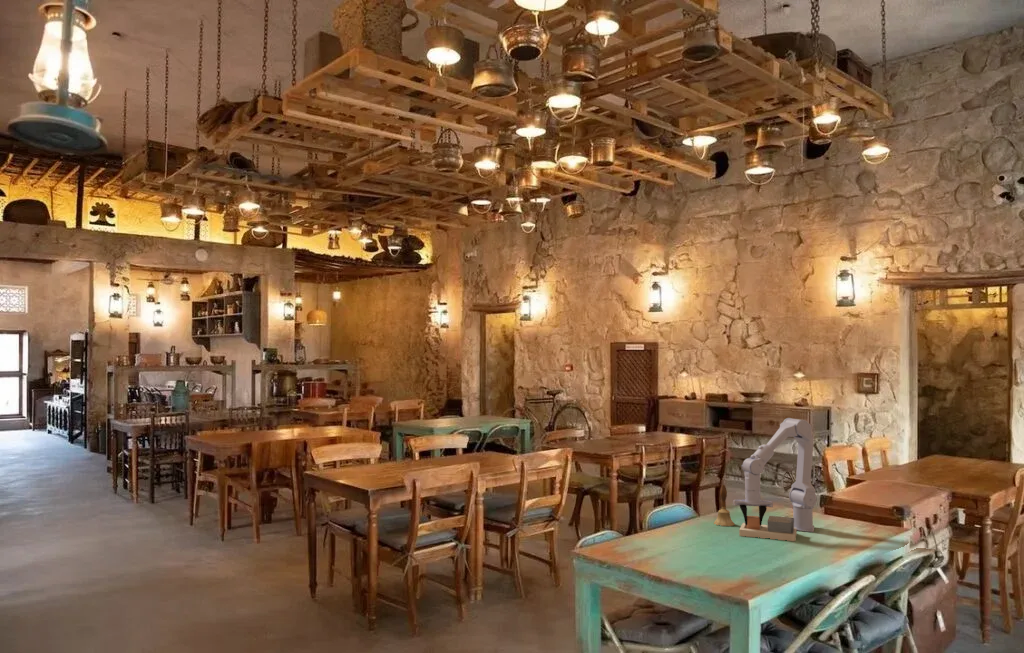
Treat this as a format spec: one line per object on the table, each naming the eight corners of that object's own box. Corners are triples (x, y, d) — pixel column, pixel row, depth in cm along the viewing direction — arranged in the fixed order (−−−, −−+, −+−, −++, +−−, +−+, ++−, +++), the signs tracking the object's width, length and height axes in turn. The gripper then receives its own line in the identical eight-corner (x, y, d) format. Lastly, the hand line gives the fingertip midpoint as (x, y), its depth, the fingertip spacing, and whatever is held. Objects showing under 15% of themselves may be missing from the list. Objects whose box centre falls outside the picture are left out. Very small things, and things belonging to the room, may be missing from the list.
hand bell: (709, 523, 300) (709, 484, 301) (725, 521, 304) (724, 482, 304) (723, 527, 293) (722, 487, 293) (739, 525, 296) (738, 486, 296)
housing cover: (769, 525, 285) (769, 515, 285) (794, 527, 281) (794, 517, 281) (767, 530, 276) (767, 520, 276) (793, 533, 273) (792, 523, 273)
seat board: (742, 528, 290) (742, 522, 290) (796, 533, 282) (796, 527, 282) (739, 535, 279) (739, 529, 279) (795, 541, 271) (794, 534, 271)
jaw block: (746, 528, 286) (746, 515, 286) (758, 528, 285) (758, 516, 285) (747, 531, 281) (747, 518, 282) (759, 531, 280) (759, 518, 281)
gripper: (771, 488, 286) (771, 523, 285) (732, 486, 289) (733, 521, 289) (773, 491, 279) (773, 527, 278) (733, 490, 282) (734, 525, 282)
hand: (753, 524), depth 283 cm, fingers closed on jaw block, 4 cm apart
